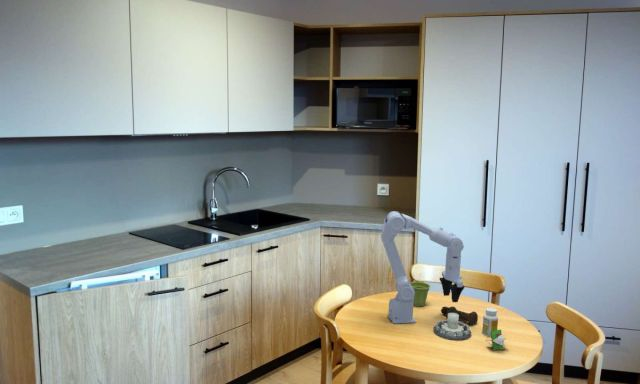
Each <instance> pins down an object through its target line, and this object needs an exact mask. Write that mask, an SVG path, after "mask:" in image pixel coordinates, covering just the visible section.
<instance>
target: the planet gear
mask: <svg viewBox="0 0 640 384" xmlns="http://www.w3.org/2000/svg"><path fill="white" fill-rule="evenodd" d="M447 320H448V322H447V323H444V325H441V329H443V330H445V331H446V333H447V334H448V331H449V332H454V335H455V334H456V332H462V333H463V332H464V329H463V326H459V324H458V322H459V320H460V319H459V315H458V314H456V313H448V316H447Z"/></svg>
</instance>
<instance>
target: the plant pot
mask: <svg viewBox="0 0 640 384" xmlns="http://www.w3.org/2000/svg"><path fill="white" fill-rule="evenodd" d="M410 283H411V286H412V288H413V289H414V291H415V295H414V303H413V306H415V307H424V306H426V302H427V298H428V294H429V291H430V289H431V284H429V283H426V282H423V281H411V282H410Z"/></svg>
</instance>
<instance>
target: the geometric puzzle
mask: <svg viewBox="0 0 640 384" xmlns="http://www.w3.org/2000/svg"><path fill="white" fill-rule="evenodd" d="M490 332H491V336H490V335H489V336H488V337H491V338H490V339H485V342H488V343H489V342H491V344H490V346H492V347H491V349H492V350H493V351H495V350H504V349H505V338H504V335H503V332H502V329H497V330H492V331H490ZM489 334H490V333H489Z"/></svg>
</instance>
